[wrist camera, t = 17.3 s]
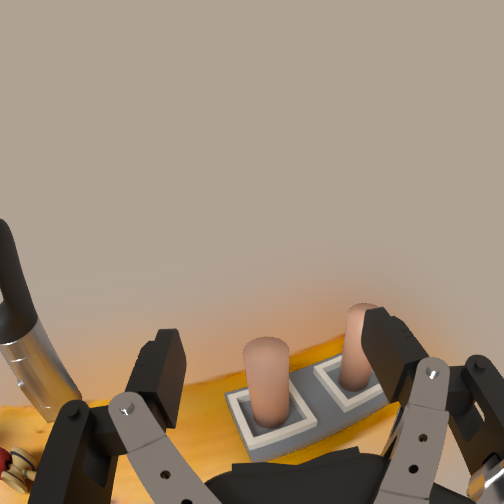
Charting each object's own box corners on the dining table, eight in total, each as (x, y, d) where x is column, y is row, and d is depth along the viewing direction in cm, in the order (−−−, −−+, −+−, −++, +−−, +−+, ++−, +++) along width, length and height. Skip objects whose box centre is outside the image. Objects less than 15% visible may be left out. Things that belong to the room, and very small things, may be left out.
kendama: (87, 470, 25) (2, 446, 22) (69, 458, 22) (-19, 429, 18) (87, 514, 19) (-3, 482, 15) (68, 507, 16) (-26, 469, 12)
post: (272, 434, 31) (267, 374, 26) (245, 416, 34) (233, 353, 29) (295, 412, 34) (298, 348, 29) (269, 396, 38) (264, 331, 33)
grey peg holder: (253, 465, 28) (240, 406, 22) (225, 399, 39) (209, 328, 34) (399, 397, 35) (425, 325, 29) (354, 352, 46) (364, 283, 41)
